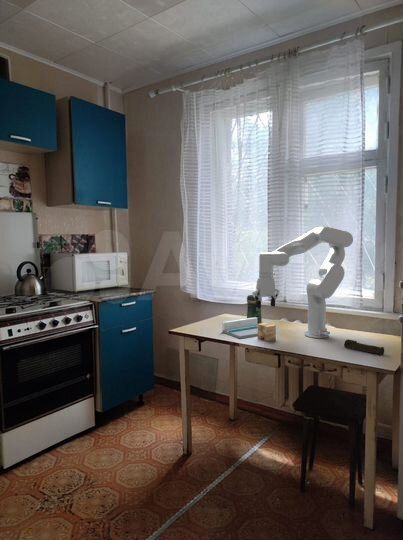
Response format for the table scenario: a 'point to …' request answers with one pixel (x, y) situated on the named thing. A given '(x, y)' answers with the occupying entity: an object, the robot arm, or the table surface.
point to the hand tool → (363, 347)
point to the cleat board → (241, 328)
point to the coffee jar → (253, 309)
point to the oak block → (267, 331)
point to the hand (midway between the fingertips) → (265, 307)
